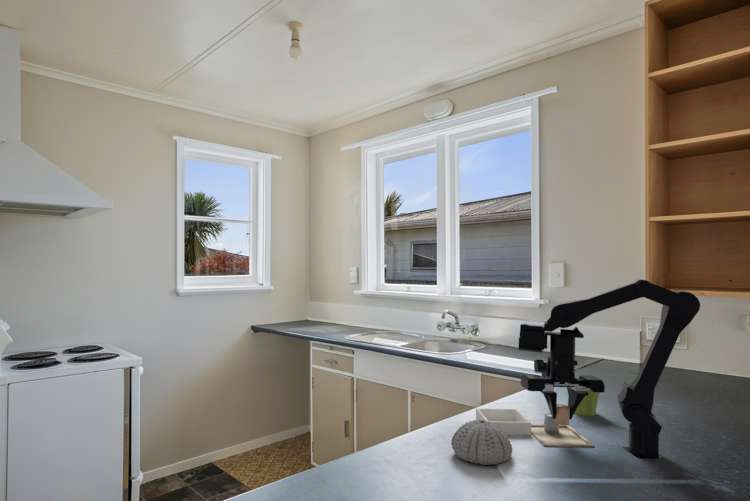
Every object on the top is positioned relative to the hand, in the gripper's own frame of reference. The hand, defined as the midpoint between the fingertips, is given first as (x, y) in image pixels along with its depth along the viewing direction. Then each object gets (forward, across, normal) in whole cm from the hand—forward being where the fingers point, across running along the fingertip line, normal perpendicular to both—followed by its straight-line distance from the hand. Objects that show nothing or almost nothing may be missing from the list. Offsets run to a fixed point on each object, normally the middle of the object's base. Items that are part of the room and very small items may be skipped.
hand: (561, 418), depth 114 cm
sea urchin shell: (+6, +22, +9) cm, 24 cm away
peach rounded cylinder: (+1, 0, 0) cm, 1 cm away
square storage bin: (+6, +12, -9) cm, 16 cm away
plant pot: (+6, -16, -22) cm, 28 cm away
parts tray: (+6, 0, -3) cm, 7 cm away
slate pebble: (+5, 0, -6) cm, 8 cm away
